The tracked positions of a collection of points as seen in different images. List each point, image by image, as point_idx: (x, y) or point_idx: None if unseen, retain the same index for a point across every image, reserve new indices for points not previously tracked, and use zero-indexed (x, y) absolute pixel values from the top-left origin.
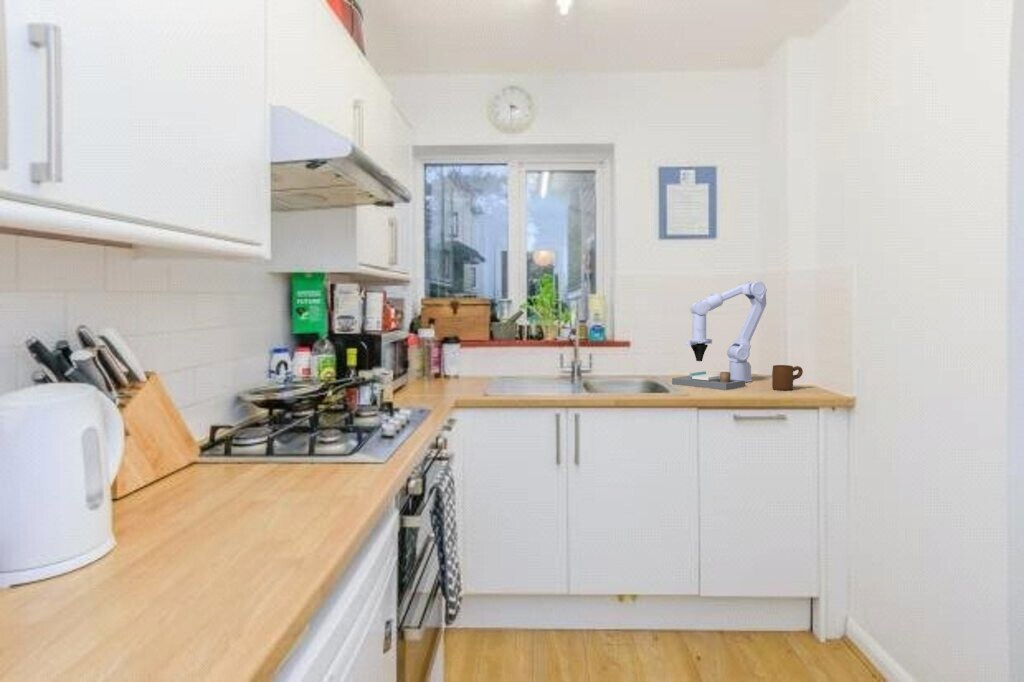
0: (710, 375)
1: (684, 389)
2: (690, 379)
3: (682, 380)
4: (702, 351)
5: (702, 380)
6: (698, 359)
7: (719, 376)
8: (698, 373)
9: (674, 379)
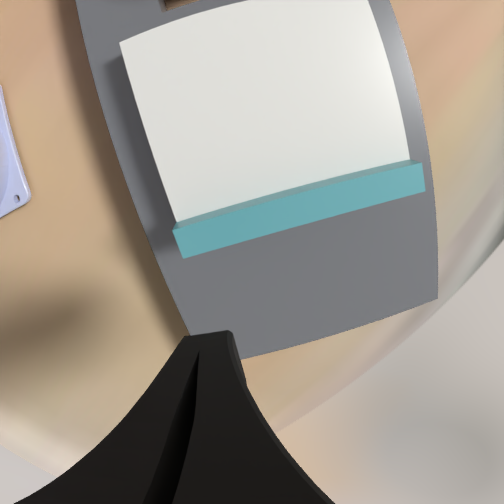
0: (230, 83)
1: (500, 61)
2: None
3: (430, 210)
4: (168, 460)
5: None
6: (241, 369)
7: (168, 25)
8: (316, 185)
9: (434, 277)
